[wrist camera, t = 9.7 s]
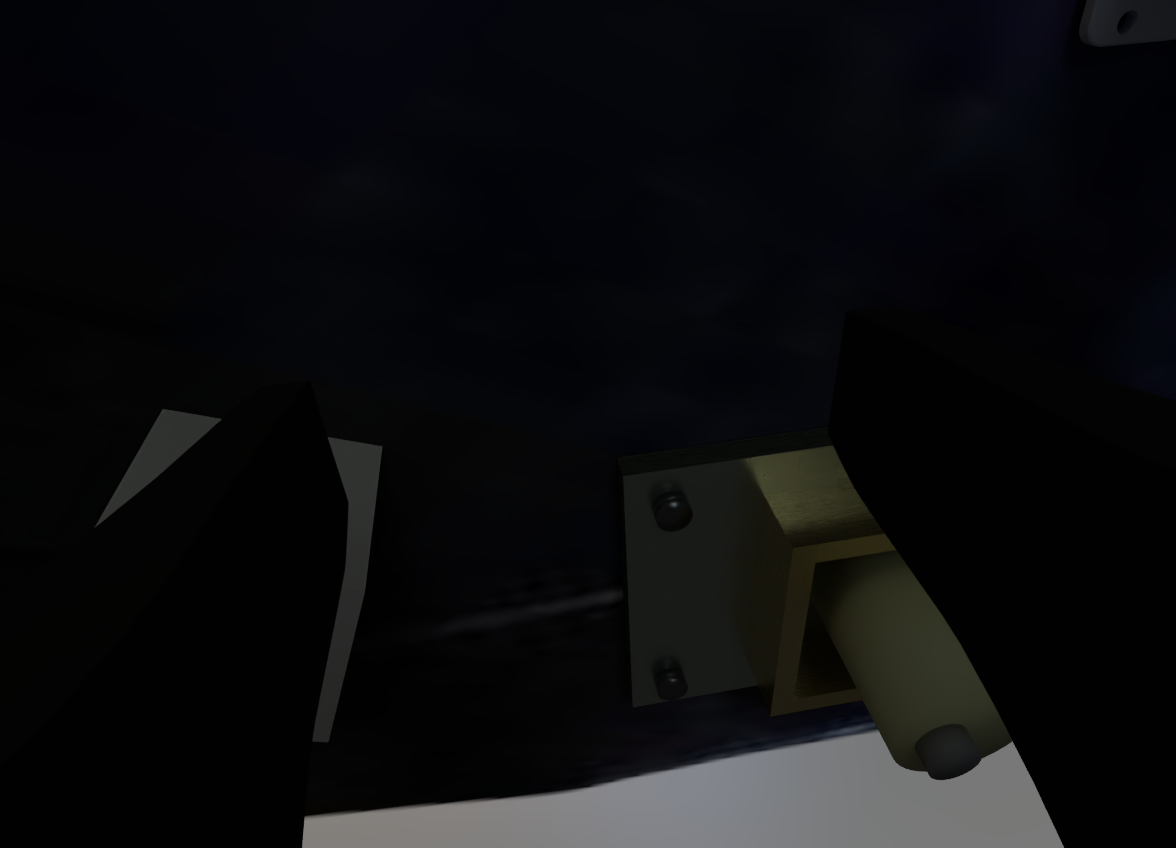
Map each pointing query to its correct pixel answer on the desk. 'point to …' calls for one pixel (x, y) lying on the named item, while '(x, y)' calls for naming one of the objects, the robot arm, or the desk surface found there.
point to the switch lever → (907, 665)
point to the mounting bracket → (737, 568)
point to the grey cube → (360, 486)
